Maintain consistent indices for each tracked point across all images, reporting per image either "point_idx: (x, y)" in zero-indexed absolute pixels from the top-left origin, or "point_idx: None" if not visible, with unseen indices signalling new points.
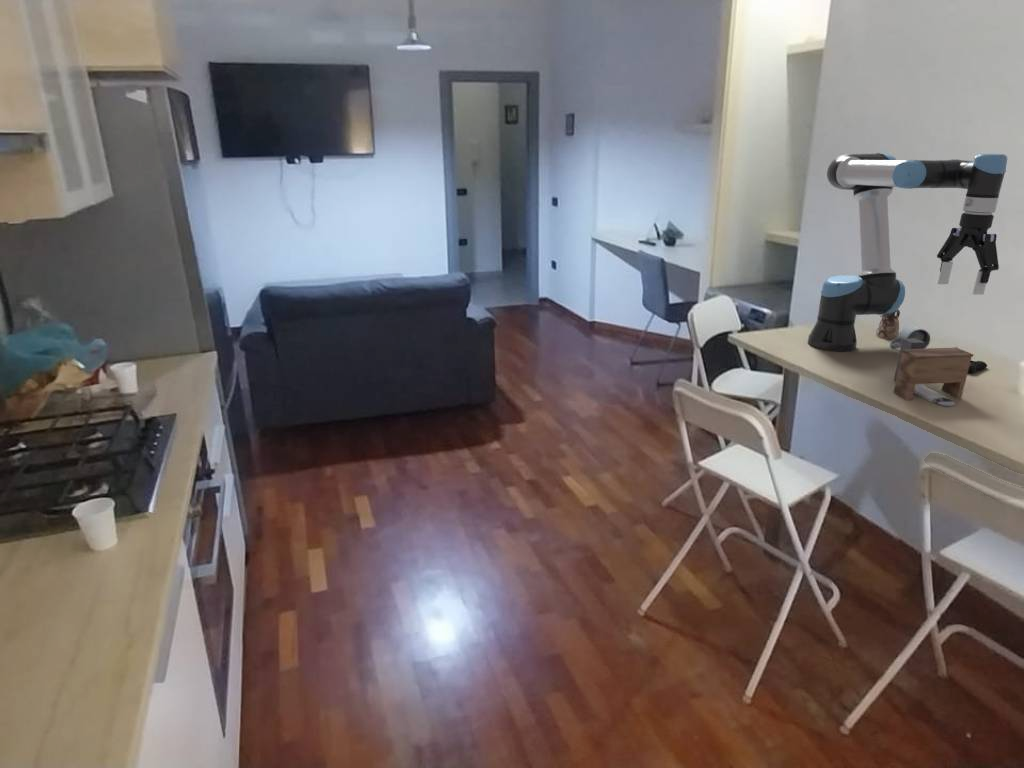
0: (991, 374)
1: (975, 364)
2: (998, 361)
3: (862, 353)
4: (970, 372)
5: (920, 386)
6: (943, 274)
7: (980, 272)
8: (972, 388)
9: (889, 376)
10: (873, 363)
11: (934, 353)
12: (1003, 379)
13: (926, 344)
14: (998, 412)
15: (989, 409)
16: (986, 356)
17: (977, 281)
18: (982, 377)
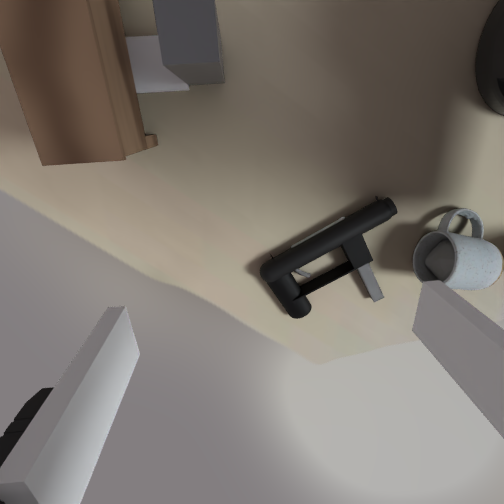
0: (256, 301)
1: (279, 290)
2: (324, 354)
3: (444, 99)
4: (261, 266)
5: (158, 77)
6: (469, 336)
7: (3, 471)
8: (173, 214)
9: (258, 53)
10: (363, 76)
11: (17, 6)
12: (228, 304)
13: (420, 274)
14: (22, 172)
15: (38, 164)
16: (353, 352)
17: (65, 378)
18: (240, 275)
